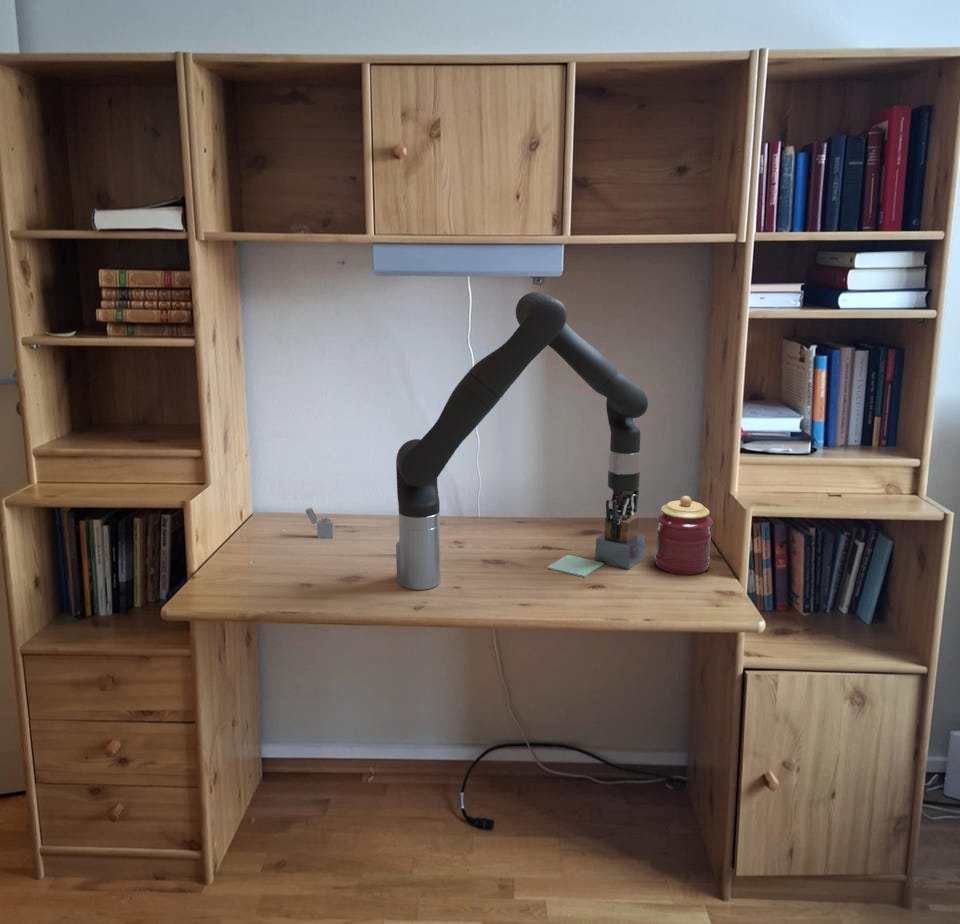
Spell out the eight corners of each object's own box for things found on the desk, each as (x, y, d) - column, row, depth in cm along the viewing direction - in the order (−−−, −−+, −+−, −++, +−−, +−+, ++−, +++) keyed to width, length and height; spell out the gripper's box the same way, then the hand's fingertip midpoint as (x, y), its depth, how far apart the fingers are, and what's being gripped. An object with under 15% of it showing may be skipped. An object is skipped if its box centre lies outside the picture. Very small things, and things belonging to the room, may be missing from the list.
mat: (547, 568, 210) (547, 567, 210) (567, 556, 218) (567, 554, 218) (584, 577, 205) (584, 575, 205) (603, 564, 213) (603, 562, 213)
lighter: (334, 536, 233) (333, 507, 230) (333, 538, 231) (331, 509, 229) (308, 535, 233) (306, 506, 231) (306, 537, 231) (305, 508, 229)
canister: (698, 579, 204) (703, 507, 199) (646, 568, 210) (649, 498, 206) (716, 562, 214) (721, 493, 210) (665, 552, 221) (669, 485, 217)
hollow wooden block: (604, 538, 214) (605, 518, 212) (615, 531, 218) (615, 512, 217) (627, 542, 210) (628, 523, 209) (637, 535, 215) (638, 516, 214)
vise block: (595, 561, 215) (596, 517, 212) (611, 550, 222) (613, 507, 219) (629, 569, 210) (631, 523, 207) (644, 558, 217) (646, 514, 214)
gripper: (622, 460, 218) (619, 524, 222) (596, 473, 206) (593, 540, 210) (650, 464, 214) (647, 529, 218) (625, 477, 202) (622, 546, 206)
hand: (621, 534), depth 214 cm, fingers closed on hollow wooden block, 6 cm apart
